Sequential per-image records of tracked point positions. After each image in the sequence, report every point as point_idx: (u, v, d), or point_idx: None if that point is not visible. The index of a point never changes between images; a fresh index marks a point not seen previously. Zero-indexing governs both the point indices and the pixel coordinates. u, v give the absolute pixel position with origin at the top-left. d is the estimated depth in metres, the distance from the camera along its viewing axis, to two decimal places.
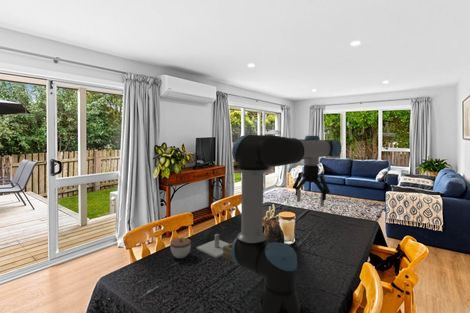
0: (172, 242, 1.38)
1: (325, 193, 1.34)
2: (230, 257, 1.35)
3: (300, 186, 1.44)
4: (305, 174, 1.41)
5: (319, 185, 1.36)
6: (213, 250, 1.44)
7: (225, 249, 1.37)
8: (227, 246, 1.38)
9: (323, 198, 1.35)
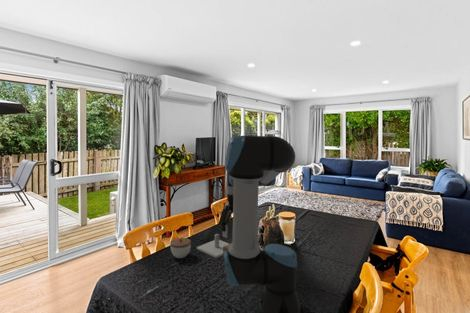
0: (172, 242, 1.38)
1: (221, 223, 1.31)
2: None
3: None
4: None
5: None
6: (213, 250, 1.44)
7: (225, 249, 1.37)
8: (227, 246, 1.38)
9: None
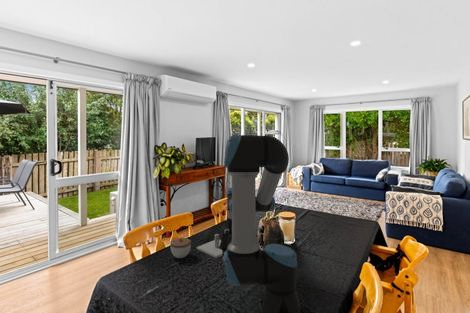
0: (172, 242, 1.38)
1: None
2: None
3: None
4: None
5: None
6: (213, 250, 1.44)
7: None
8: None
9: None
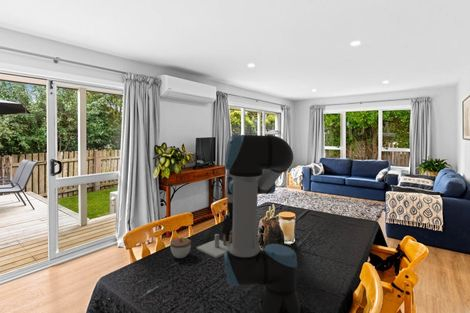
0: (172, 242, 1.38)
1: None
2: None
3: None
4: None
5: (227, 224, 1.34)
6: (213, 250, 1.44)
7: None
8: None
9: None
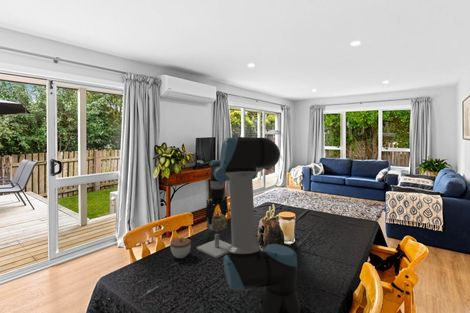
0: (172, 242, 1.38)
1: (207, 217, 1.43)
2: (213, 227, 1.44)
3: (221, 210, 1.50)
4: None
5: None
6: (213, 250, 1.44)
7: None
8: None
9: None
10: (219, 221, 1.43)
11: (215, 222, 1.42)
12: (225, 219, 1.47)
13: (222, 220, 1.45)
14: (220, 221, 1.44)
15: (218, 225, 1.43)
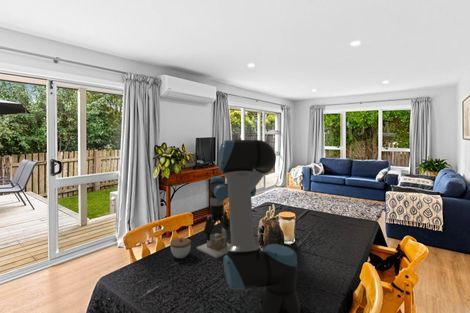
0: (172, 242, 1.38)
1: (206, 233, 1.43)
2: (213, 246, 1.45)
3: (222, 224, 1.52)
4: None
5: None
6: (213, 250, 1.44)
7: None
8: None
9: None
10: (219, 240, 1.44)
11: (215, 242, 1.43)
12: (225, 238, 1.48)
13: (222, 239, 1.46)
14: (220, 240, 1.45)
15: (218, 244, 1.44)
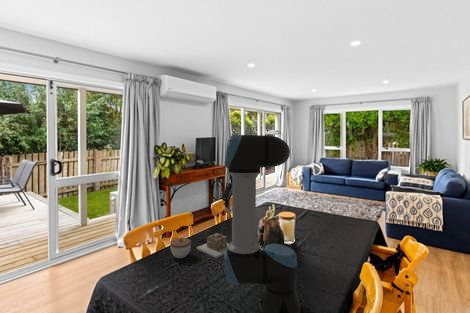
0: (172, 242, 1.38)
1: None
2: (213, 246, 1.45)
3: None
4: None
5: (228, 192, 1.42)
6: (213, 250, 1.44)
7: (208, 239, 1.47)
8: (210, 236, 1.48)
9: None
10: (219, 240, 1.44)
11: (215, 242, 1.43)
12: (225, 238, 1.48)
13: (222, 239, 1.46)
14: (220, 240, 1.45)
15: (218, 244, 1.44)
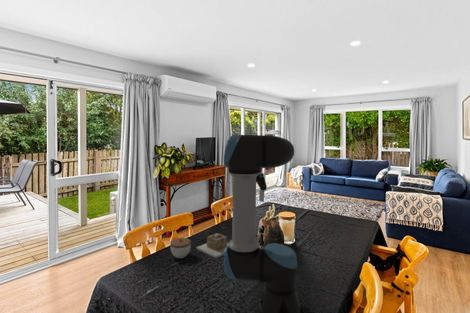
0: (172, 242, 1.38)
1: None
2: (213, 246, 1.45)
3: (259, 186, 1.49)
4: None
5: None
6: (213, 250, 1.44)
7: (208, 239, 1.47)
8: (210, 236, 1.48)
9: None
10: (219, 240, 1.44)
11: (215, 242, 1.43)
12: (225, 238, 1.48)
13: (222, 239, 1.46)
14: (220, 240, 1.45)
15: (218, 244, 1.44)
